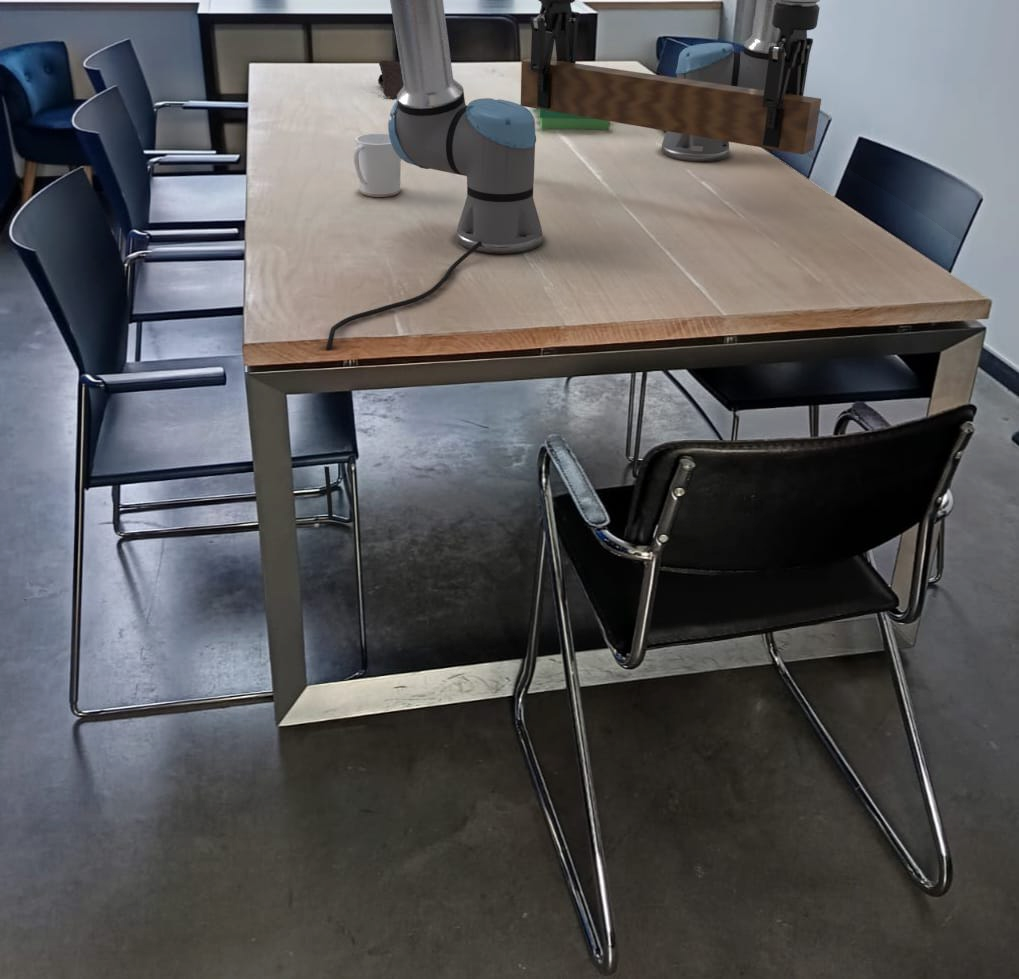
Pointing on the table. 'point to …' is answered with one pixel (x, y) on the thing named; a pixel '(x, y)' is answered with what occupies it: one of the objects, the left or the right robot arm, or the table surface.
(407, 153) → the left robot arm
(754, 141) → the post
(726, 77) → the right robot arm
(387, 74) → the axe head
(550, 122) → the green tank
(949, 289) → the table surface
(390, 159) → the mug
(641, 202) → the table surface
